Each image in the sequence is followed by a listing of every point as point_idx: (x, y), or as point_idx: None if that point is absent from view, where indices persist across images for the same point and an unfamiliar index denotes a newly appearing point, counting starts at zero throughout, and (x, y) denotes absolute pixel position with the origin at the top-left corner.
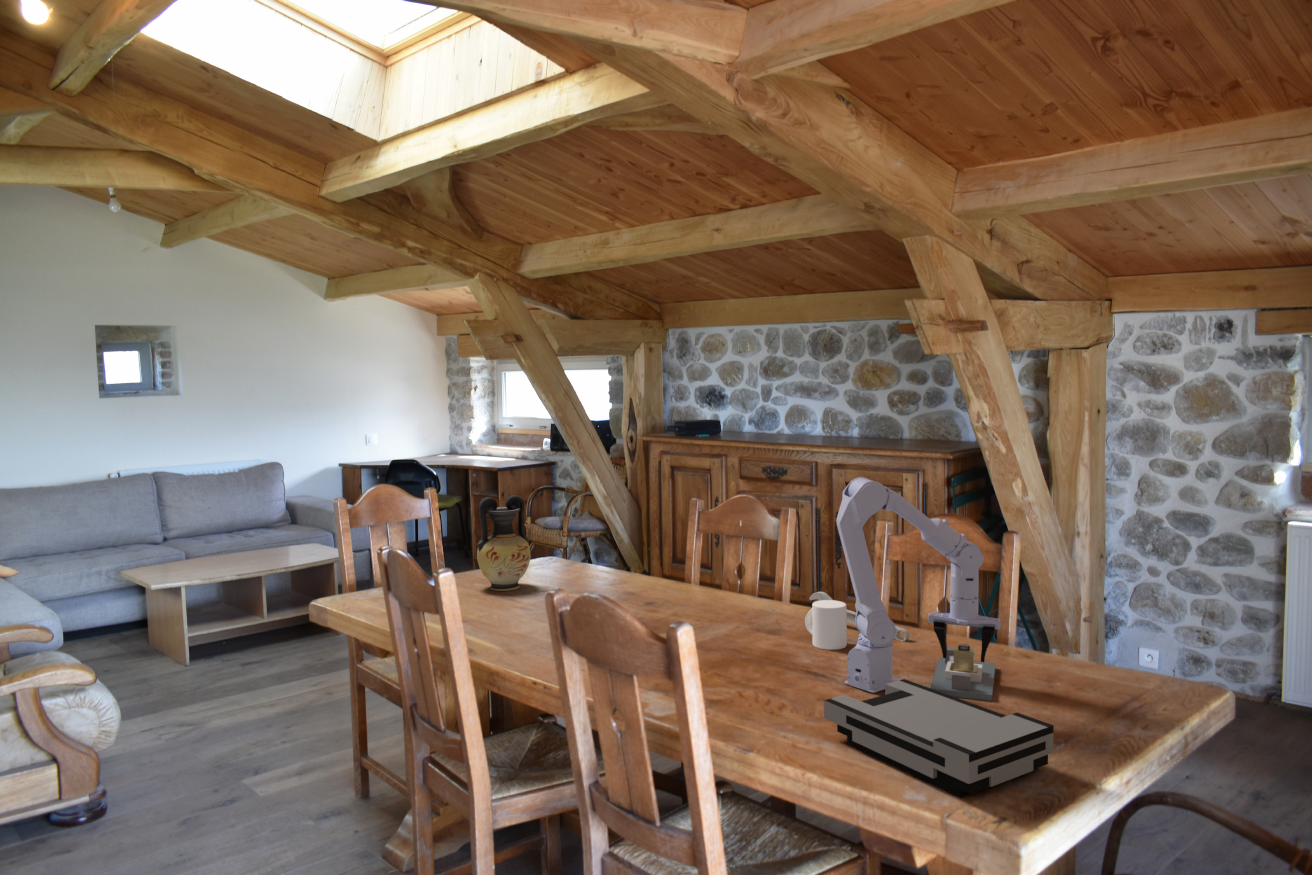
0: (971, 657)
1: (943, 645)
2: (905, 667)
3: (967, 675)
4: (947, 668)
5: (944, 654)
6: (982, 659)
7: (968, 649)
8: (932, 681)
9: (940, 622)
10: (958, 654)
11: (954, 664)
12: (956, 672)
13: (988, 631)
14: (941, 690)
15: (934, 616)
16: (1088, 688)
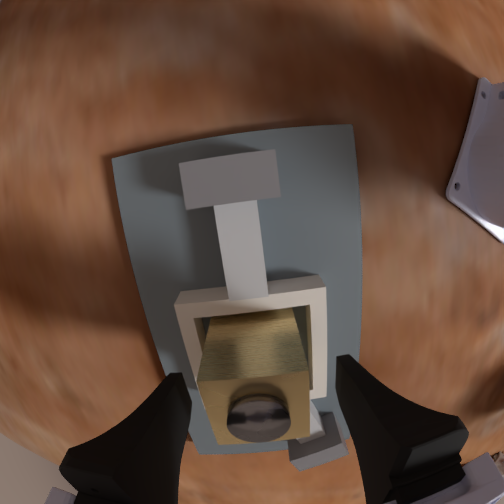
0: (210, 360)
1: (368, 386)
2: (432, 353)
3: (195, 173)
4: (320, 323)
5: (348, 361)
6: (171, 377)
7: (231, 403)
8: (358, 213)
9: (427, 492)
10: (278, 359)
11: (292, 325)
12: (259, 197)
13: (80, 474)
14: (306, 126)
15: (479, 501)
16: (7, 369)
